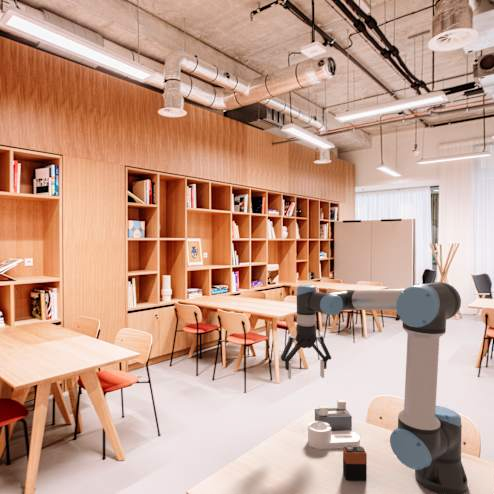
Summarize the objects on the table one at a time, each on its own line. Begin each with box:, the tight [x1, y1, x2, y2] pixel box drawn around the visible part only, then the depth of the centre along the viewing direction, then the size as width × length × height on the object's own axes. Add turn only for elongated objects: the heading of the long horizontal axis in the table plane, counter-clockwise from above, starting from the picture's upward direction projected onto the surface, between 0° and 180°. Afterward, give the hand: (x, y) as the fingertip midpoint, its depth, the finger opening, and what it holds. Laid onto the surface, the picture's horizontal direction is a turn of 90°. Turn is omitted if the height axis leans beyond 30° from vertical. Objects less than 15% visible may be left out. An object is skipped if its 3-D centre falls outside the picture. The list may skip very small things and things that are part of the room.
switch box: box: [314, 407, 353, 431], centre depth 159 cm, size 8×13×7 cm, turn 94°
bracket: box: [307, 420, 361, 450], centre depth 149 cm, size 20×9×7 cm, turn 95°
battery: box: [342, 445, 368, 482], centre depth 127 cm, size 4×7×10 cm, turn 88°
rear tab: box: [336, 399, 347, 410], centre depth 161 cm, size 2×3×3 cm, turn 95°
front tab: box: [318, 405, 329, 416], centre depth 156 cm, size 2×3×3 cm, turn 95°
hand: (305, 377), depth 154 cm, fingers open, 13 cm apart
